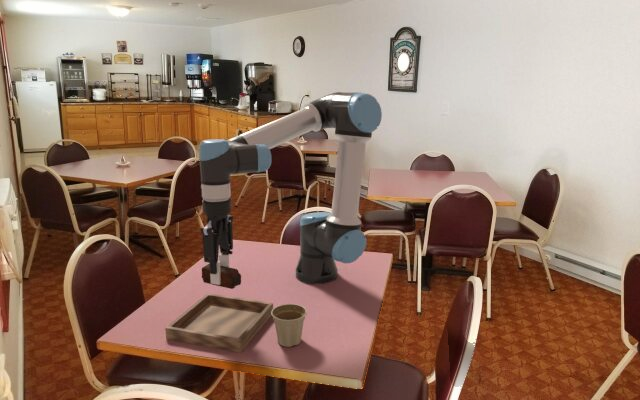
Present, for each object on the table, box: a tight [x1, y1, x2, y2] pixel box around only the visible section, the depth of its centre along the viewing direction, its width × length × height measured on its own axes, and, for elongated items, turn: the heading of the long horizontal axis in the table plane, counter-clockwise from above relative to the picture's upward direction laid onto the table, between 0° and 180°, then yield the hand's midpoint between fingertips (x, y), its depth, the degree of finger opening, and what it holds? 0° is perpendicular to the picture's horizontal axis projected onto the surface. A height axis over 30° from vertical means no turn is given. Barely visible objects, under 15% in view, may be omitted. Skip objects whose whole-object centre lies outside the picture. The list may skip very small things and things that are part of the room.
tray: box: [164, 292, 274, 353], centre depth 130 cm, size 22×22×3 cm
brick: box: [201, 263, 242, 290], centre depth 127 cm, size 11×4×5 cm, turn 66°
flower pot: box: [271, 303, 308, 348], centre depth 122 cm, size 9×9×9 cm
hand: (220, 279), depth 127 cm, fingers closed on brick, 4 cm apart
